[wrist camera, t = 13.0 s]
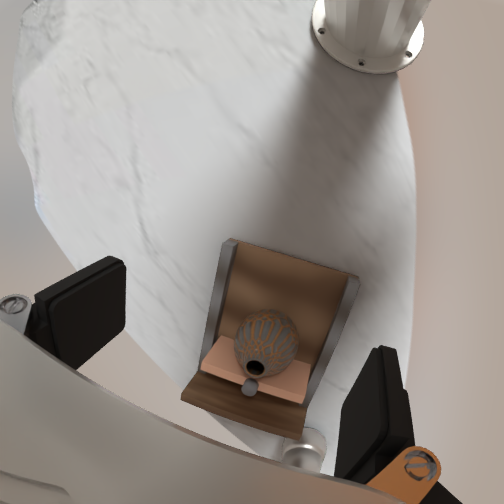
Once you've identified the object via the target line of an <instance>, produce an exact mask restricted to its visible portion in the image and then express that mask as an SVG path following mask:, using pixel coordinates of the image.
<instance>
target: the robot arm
mask: <svg viewBox="0 0 504 504" xmlns="http://www.w3.org/2000/svg"><path fill="white" fill-rule="evenodd" d="M430 2H431V0H316V2H315V4H314V7H313V10H312V25H313V30H314V33H315V36H316V38H317V40H318V42H319V43H320V44H321V46H322V47H323V48H324V50H325V51H326V52H327V53H328V54H329V55H330V56H332V57H333V58H334V59H336V60H337V61H339V62H340V63H341V64H343V65H346V66H348V67H350V68H352V69H355V70H358V71H361V72H366V73H372V74H386V73H391V72H396V71H398V70H401V69H403V68H405V67H406V66H408V65H409V64H411V63H412V62H413V61H414V60H415V59H416V58H417V56H418V54H419V53H420V51H421V49H422V46H423V43H424V28H423V25H422V22H421V19H422V17H423V15H424V13H425V11H426V9H427V8H428V5H429V4H430ZM320 33H324V34H320ZM405 55H407V56H409V58H408V57H406V56H405ZM359 63H362V64H363V66H360V65H359ZM34 296H35V303H34V304H32V302H31V300H30V299H29V298H28V297H27V296H24V295H20V294H12V295H8V296H5V297H3V298H2V299H0V504H462V503H461V502H460V501H459V500H458V499H457V498H455V497H454V496H453V495H452V494H451V493H450V492H449V491H448V490H447V489H446V488H445V487H444V486H442V485H441V484H440V483H439V482H438V481H437V480H438V479H439V477H440V475H441V465H440V462H439V460H438V459H437V457H436V456H435V455H434V454H433V453H432V452H431V451H430V450H428V449H426V448H423V447H420V446H415V440H414V432H413V425H412V417H411V411H410V405H409V398H408V393H407V391H406V390H405V389H403V384H402V378H401V372H400V367H399V361H398V356H397V351H396V349H394V348H390V347H386V346H383V345H380V346H379V347H378V349H377V348H373V349H372V351H371V353H370V355H369V357H368V359H367V360H366V362H365V364H364V366H363V368H362V370H361V372H360V374H359V376H358V378H357V379H356V381H355V383H354V385H353V387H352V388H351V390H350V392H349V394H348V396H347V397H346V399H345V401H344V403H343V406H342V409H341V419H340V429H339V439H338V448H337V456H336V464H335V472H334V476H330V475H326V474H322V473H318V472H314V471H310V470H306V469H302V468H298V467H294V466H291V465H287V464H284V463H281V462H277V461H274V460H271V459H267V458H264V457H261V456H258V455H255V454H251V453H248V452H245V451H242V450H240V449H237V448H234V447H231V446H228V445H226V444H223V443H220V442H218V441H215V440H212V439H210V438H207V437H205V436H202V435H200V434H198V433H195V432H193V431H190V430H188V429H186V428H183V427H181V426H179V425H177V424H174V423H172V422H170V421H168V420H166V419H163V418H161V417H159V416H157V415H155V414H153V413H151V412H149V411H147V410H145V409H143V408H141V407H139V406H137V405H135V404H133V403H131V402H129V401H127V400H126V399H124V398H122V397H120V396H118V395H116V394H115V393H113V392H111V391H109V390H107V389H106V388H104V387H102V386H101V385H99V384H97V383H96V382H94V381H92V380H91V379H89V378H87V377H86V376H84V375H82V374H81V373H79V372H78V371H76V370H77V369H78V368H79V367H80V366H81V365H83V364H84V363H85V362H86V361H87V360H88V359H90V358H91V357H92V356H93V355H94V354H95V353H96V352H98V351H99V350H100V349H101V348H103V347H104V346H105V345H106V344H107V343H108V342H110V341H111V340H112V339H113V338H114V337H115V336H117V335H118V334H119V333H120V332H121V331H122V330H123V329H124V327H125V304H126V266H125V265H124V262H123V261H122V260H120V259H118V258H115V257H113V256H107V257H105V258H103V259H101V260H99V261H97V262H95V263H93V264H91V265H89V266H87V267H85V268H83V269H81V270H79V271H78V272H76V273H74V274H72V275H70V276H68V277H66V278H64V279H63V280H60V281H59V282H57V283H55V284H53V285H51V286H49V287H47V288H46V289H44V290H42V291H40V292H39V293H37V294H35V295H34Z"/></svg>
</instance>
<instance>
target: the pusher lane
mask: <svg viewBox="0 0 504 504" xmlns="http://www.w3.org/2000/svg"><path fill="white" fill-rule="evenodd" d="M359 286H360V282H359V278H358V277H357V276H354V275H351V274H348V273H344V272H341V271H338V270H334V269H331V268H328V267H325V266H321V265H318V264H315V263H311V262H308V261H305V260H301V259H298V258H295V257H291V256H288V255H285V254H282V253H278V252H275V251H272V250H268V249H265V248H262V247H258V246H255V245H252V244H248V243H245V242H241V241H238V240H235V239H231V238H230V239H228V240H227V241H225V242H224V243H223V244H222V248H221V253H220V258H219V263H218V268H217V273H216V277H215V282H214V287H213V292H212V297H211V302H210V307H209V313H208V318H207V323H206V328H205V333H204V339H203V344H202V349H201V355H200V360H199V366H198V371H197V373H196V374H195V375H194V377H193V378H192V380H191V381H190V382H189V384H188V385H187V386H186V388H185V389H184V391H183V392H182V394H181V400H182V401H185V402H187V403H189V404H192V405H194V406H196V407H199V408H201V409H204V410H206V411H209V412H212V413H214V414H217V415H219V416H222V417H225V418H228V419H230V420H233V421H236V422H239V423H242V424H245V425H247V426H250V427H253V428H257V429H260V430H263V431H266V432H269V433H273V434H276V435H279V436H283V437H286V438H290V439H293V440H297V441H299V440H300V438H301V436H302V433H303V428H304V422H305V417H306V412H307V408H308V405H309V403H310V401H311V399H312V397H313V395H314V393H315V391H316V389H317V387H318V385H319V383H320V380H321V378H322V376H323V374H324V372H325V370H326V367H327V365H328V363H329V361H330V358H331V356H332V354H333V351H334V349H335V347H336V344H337V342H338V340H339V337H340V335H341V332H342V330H343V328H344V325H345V323H346V320H347V318H348V315H349V313H350V310H351V307H352V305H353V302H354V300H355V297H356V294H357V292H358V289H359ZM262 309H274V310H278V311H281V312H283V313H284V314H286V315H287V316H288V317H289V318H290V319H291V320H292V321H293V322H294V324H295V326H296V328H297V331H298V336H299V344H298V350H297V353H296V355H295V357H294V360H297V361H301V362H304V363H307V364H311V367H310V373H309V379H308V384H307V390H306V395H305V398H304V400H303V402H302V404H301V403H297V402H294V401H290V400H287V399H284V398H280V397H277V396H274V395H271V394H268V393H264V392H261V391H258V390H257V392H256V394H255V395H254V396H247V395H245V394H243V392H242V390H241V388H242V386H243V385H241V384H238V383H235V382H232V381H230V380H227V379H224V378H221V377H219V376H216V375H213V374H211V373H208V372H206V371H203V370H201V364H202V361H203V359H204V358H205V357H206V355H207V354H208V352H209V351H210V350H211V348H212V347H213V346H214V344H215V343H216V341H217V340H218V339H219V337H220V336H221V335H222V336H225V337H228V338H230V339H233V340H234V339H235V334H236V331H237V329H238V327H239V326H240V324H241V323H242V322H243V320H244V319H245V318H246V317H248V316H249V315H250V314H252V313H254V312H256V311H259V310H262Z"/></svg>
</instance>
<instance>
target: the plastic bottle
mask: <svg viewBox="0 0 504 504" xmlns="http://www.w3.org/2000/svg"><path fill="white" fill-rule="evenodd" d="M326 451H327V446H326V439H325V437H324V436H323V435H322V434H321V433H320V432H319V431H317V430H315V429H313V428H306V427H305V428H303V433H302V436H301V438H300V440H299V441H297V440H293V439H290V438H286V439H285V441H284V443H283V446H282V463H284V464H287V465H291V466H294V467H298V468H302V469H306V470H310V471H314V472H318V473H320V470H321V466H322V462H323V460H324V458H325V455H326Z"/></svg>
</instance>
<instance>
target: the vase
mask: <svg viewBox="0 0 504 504" xmlns="http://www.w3.org/2000/svg"><path fill="white" fill-rule="evenodd" d="M298 344H299V336H298V331H297V328H296V326H295V324H294V322H293V321H292V320H291V319H290V318H289V317H288V316H287V315H286V314H284V313H283V312H281V311H278V310H274V309H262V310H259V311H256V312H254V313H252V314H250V315H249V316H248V317H246V318H245V319H244V320H243V322H242V323H241V324H240V326H239V327H238V329H237V331H236V334H235V339H234V352H235V356H236V358H237V360H238V362H239V363H240V365H241V366H242V367H243V369H244V371H245V373H246V374H247V375H249V376H251V377H253V378H261V377H263V376H271V375H275V374H278V373H280V372H281V371H283V370H284V369H285V368H287V367H288V366H289V365H290V363H291V362H292V361H293V359H294V357H295V355H296V353H297V350H298Z"/></svg>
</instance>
